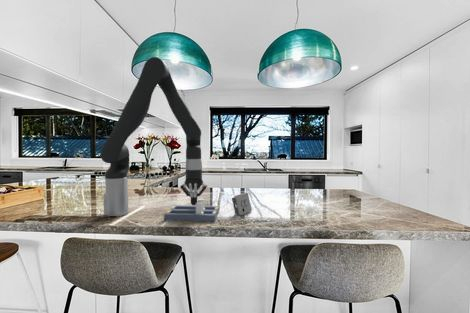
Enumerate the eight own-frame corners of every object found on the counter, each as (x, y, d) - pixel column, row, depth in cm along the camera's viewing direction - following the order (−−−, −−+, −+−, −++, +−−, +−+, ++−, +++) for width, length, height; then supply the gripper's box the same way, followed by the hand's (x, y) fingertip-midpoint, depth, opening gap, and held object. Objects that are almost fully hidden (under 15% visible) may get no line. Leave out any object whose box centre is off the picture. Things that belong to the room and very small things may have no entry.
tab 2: (194, 216, 100) (194, 203, 99) (196, 213, 103) (196, 201, 103) (202, 216, 99) (202, 204, 99) (203, 214, 103) (203, 202, 102)
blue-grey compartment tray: (164, 220, 98) (164, 213, 98) (174, 210, 112) (174, 205, 112) (214, 221, 97) (214, 214, 97) (219, 211, 111) (219, 205, 111)
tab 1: (196, 211, 106) (196, 200, 106) (198, 209, 109) (198, 198, 109) (203, 212, 106) (203, 200, 105) (205, 209, 109) (205, 198, 109)
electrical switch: (240, 216, 104) (239, 196, 104) (231, 215, 107) (230, 195, 107) (252, 211, 111) (250, 192, 111) (243, 210, 115) (242, 192, 115)
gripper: (177, 169, 103) (177, 206, 104) (206, 169, 103) (206, 207, 104) (182, 167, 111) (182, 202, 112) (209, 167, 110) (209, 203, 111)
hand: (194, 204), depth 108 cm, fingers closed
